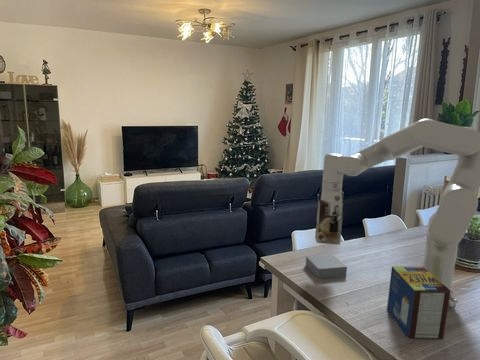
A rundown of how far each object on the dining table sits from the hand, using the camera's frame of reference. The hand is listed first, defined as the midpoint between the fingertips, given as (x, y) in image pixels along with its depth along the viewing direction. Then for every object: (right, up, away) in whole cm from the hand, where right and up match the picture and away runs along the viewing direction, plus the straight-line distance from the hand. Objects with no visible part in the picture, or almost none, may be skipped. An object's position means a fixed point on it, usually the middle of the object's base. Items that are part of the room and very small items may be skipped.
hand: (328, 228), depth 138 cm
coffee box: (0, -6, +1) cm, 6 cm away
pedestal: (0, -18, +4) cm, 18 cm away
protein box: (+19, -26, -30) cm, 44 cm away
